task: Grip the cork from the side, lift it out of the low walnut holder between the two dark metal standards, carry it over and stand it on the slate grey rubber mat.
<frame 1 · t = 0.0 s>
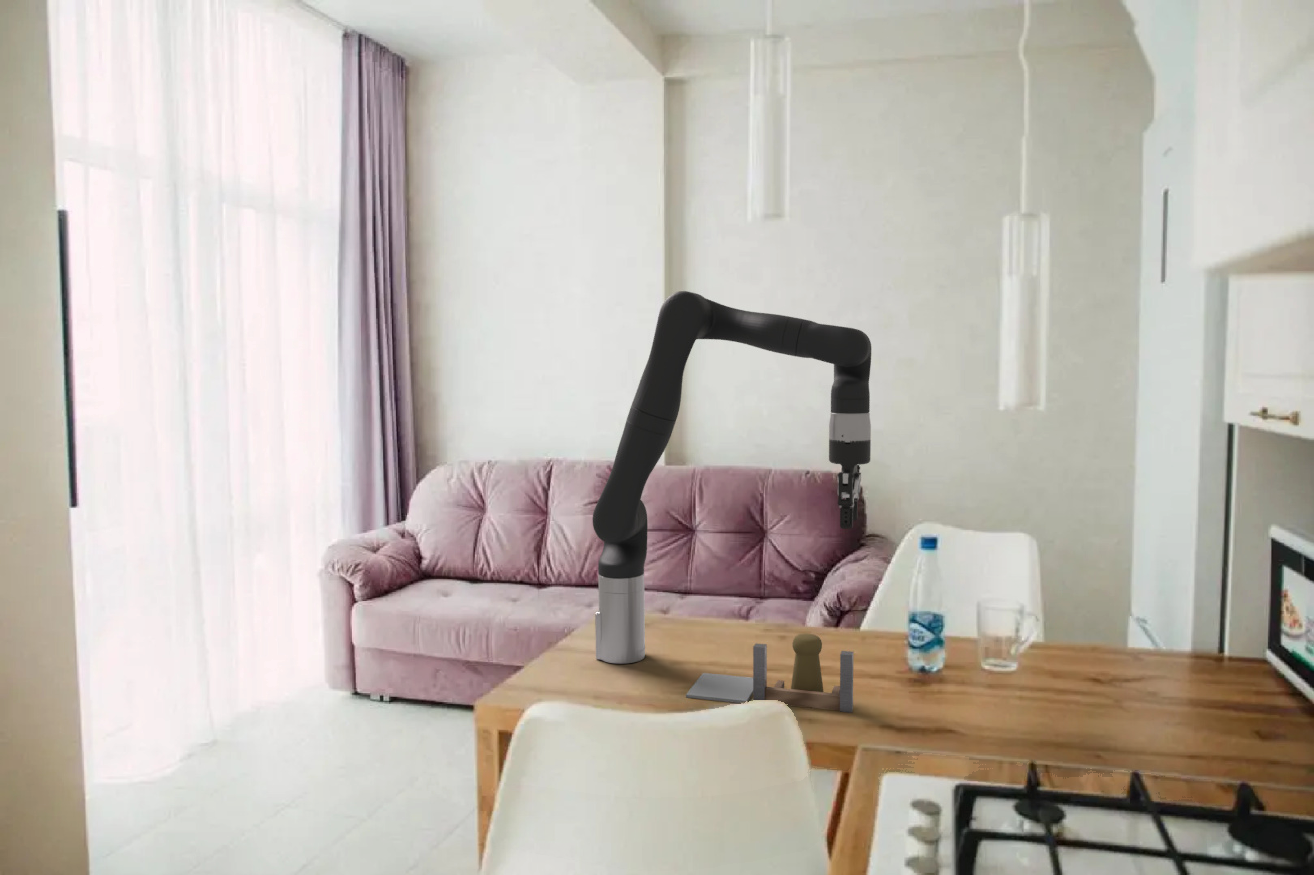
hand: (848, 524, 172), 29 cm above the table, tool pointing down, fingers open, 8 cm apart
grey rubber mat: (723, 688, 170), on the table
cork: (806, 696, 166), resting in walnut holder
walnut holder: (806, 695, 166), on the table
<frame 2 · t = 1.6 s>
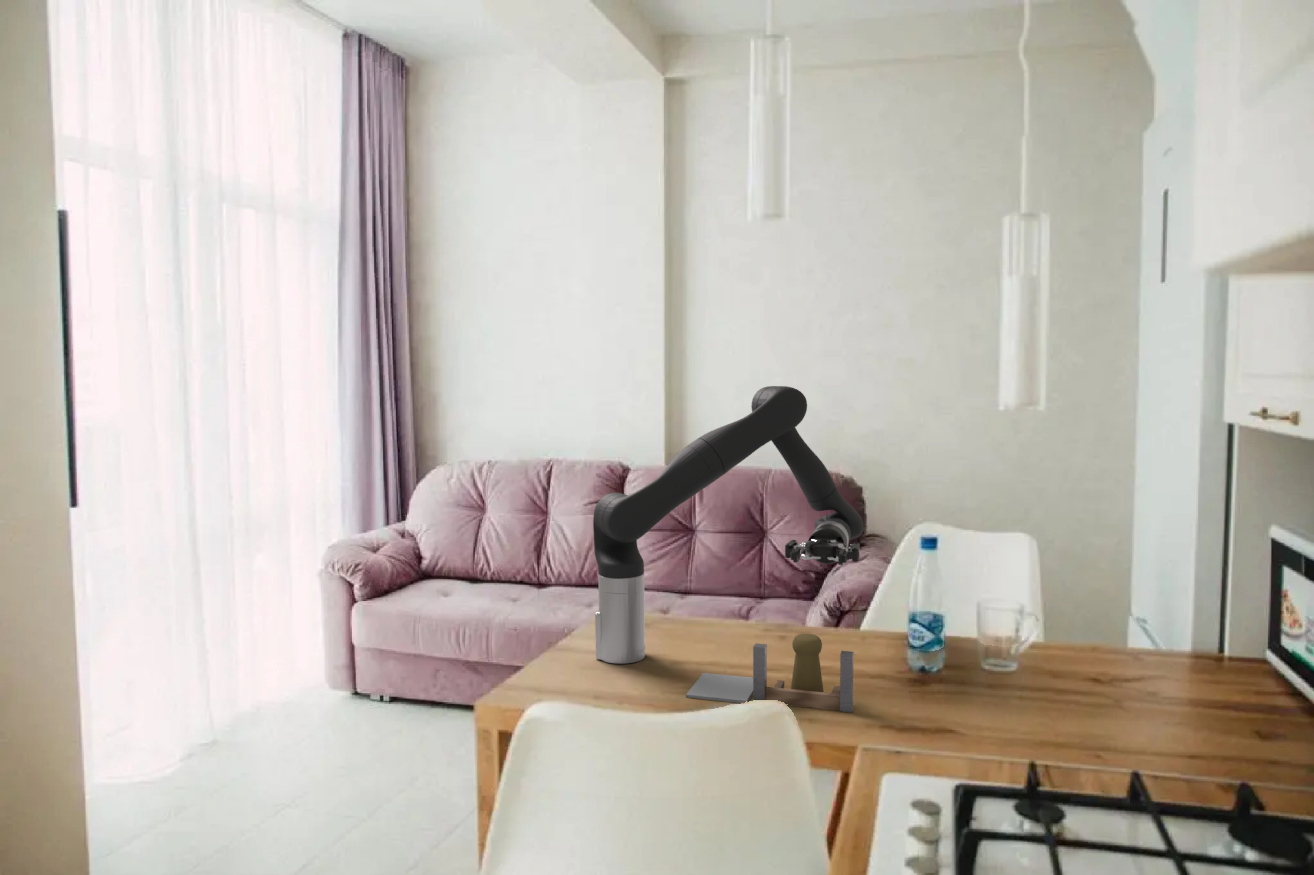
hand: (817, 558, 177), 22 cm above the table, tool horizontal, fingers open, 8 cm apart
nothing on the table moved.
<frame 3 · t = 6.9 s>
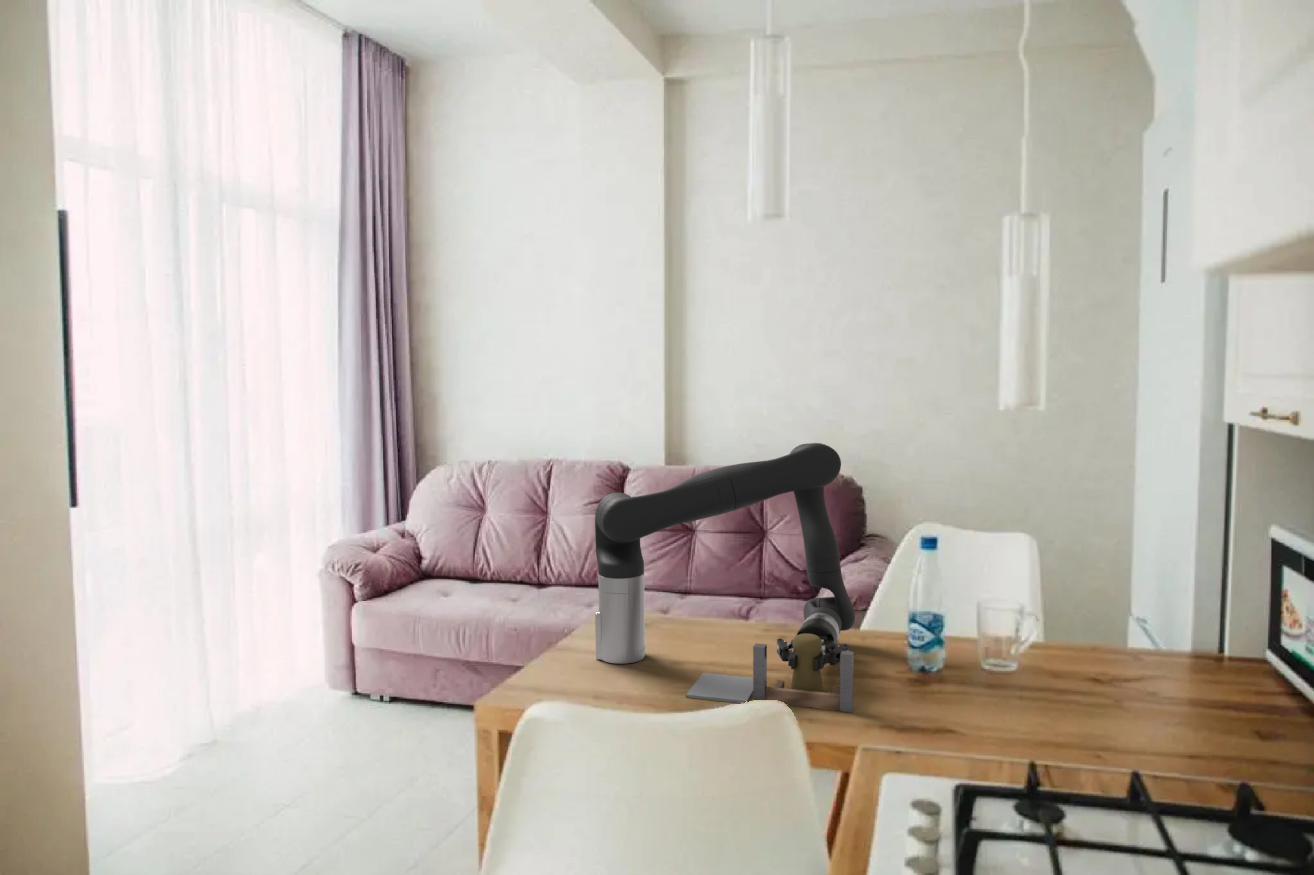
hand: (804, 664, 163), 7 cm above the table, tool horizontal, fingers closed on cork, 3 cm apart
cork: (807, 696, 166), resting in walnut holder, touching gripper
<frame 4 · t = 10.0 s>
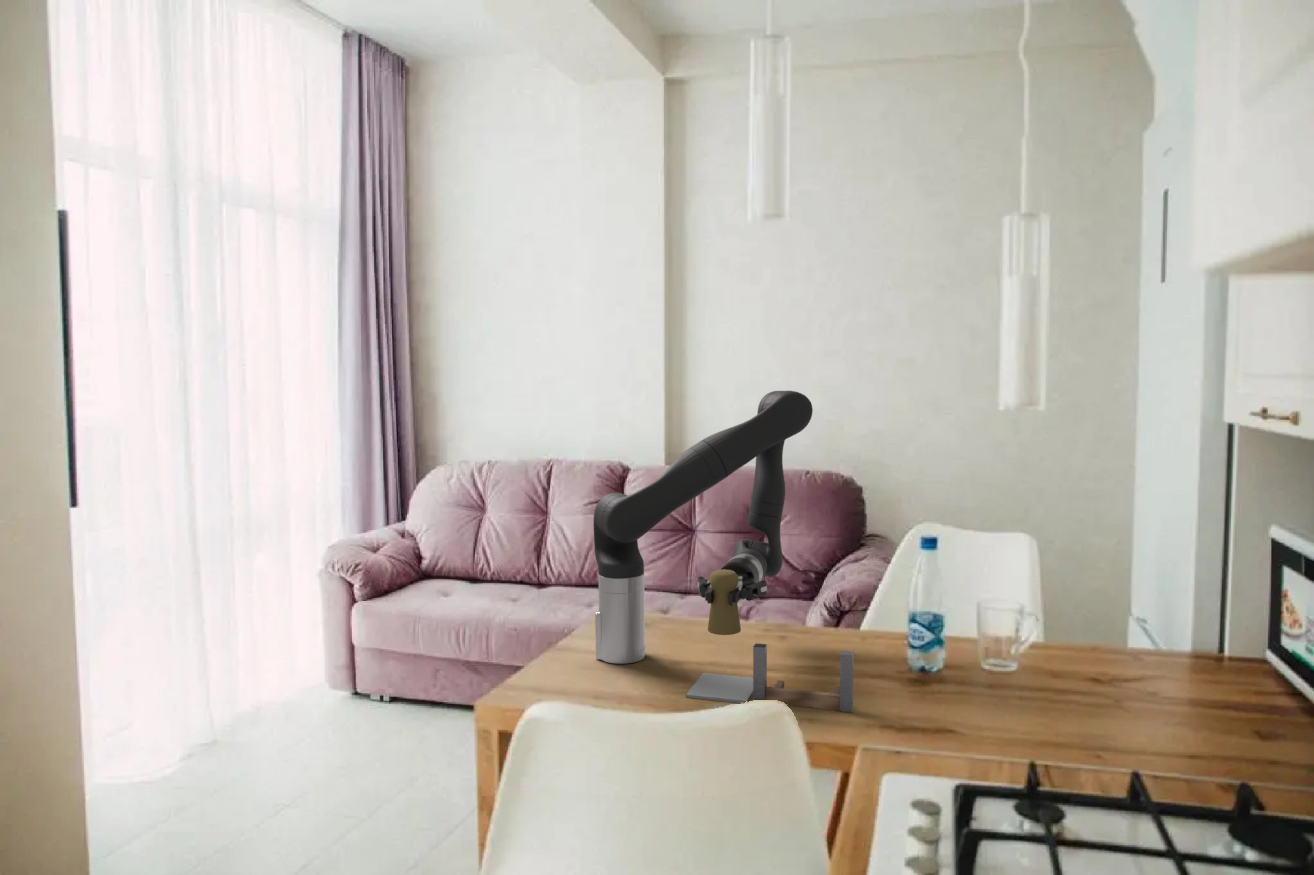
hand: (720, 598, 166), 18 cm above the table, tool horizontal, fingers closed on cork, 3 cm apart
cork: (724, 631, 169), point 11 cm above the table, touching gripper
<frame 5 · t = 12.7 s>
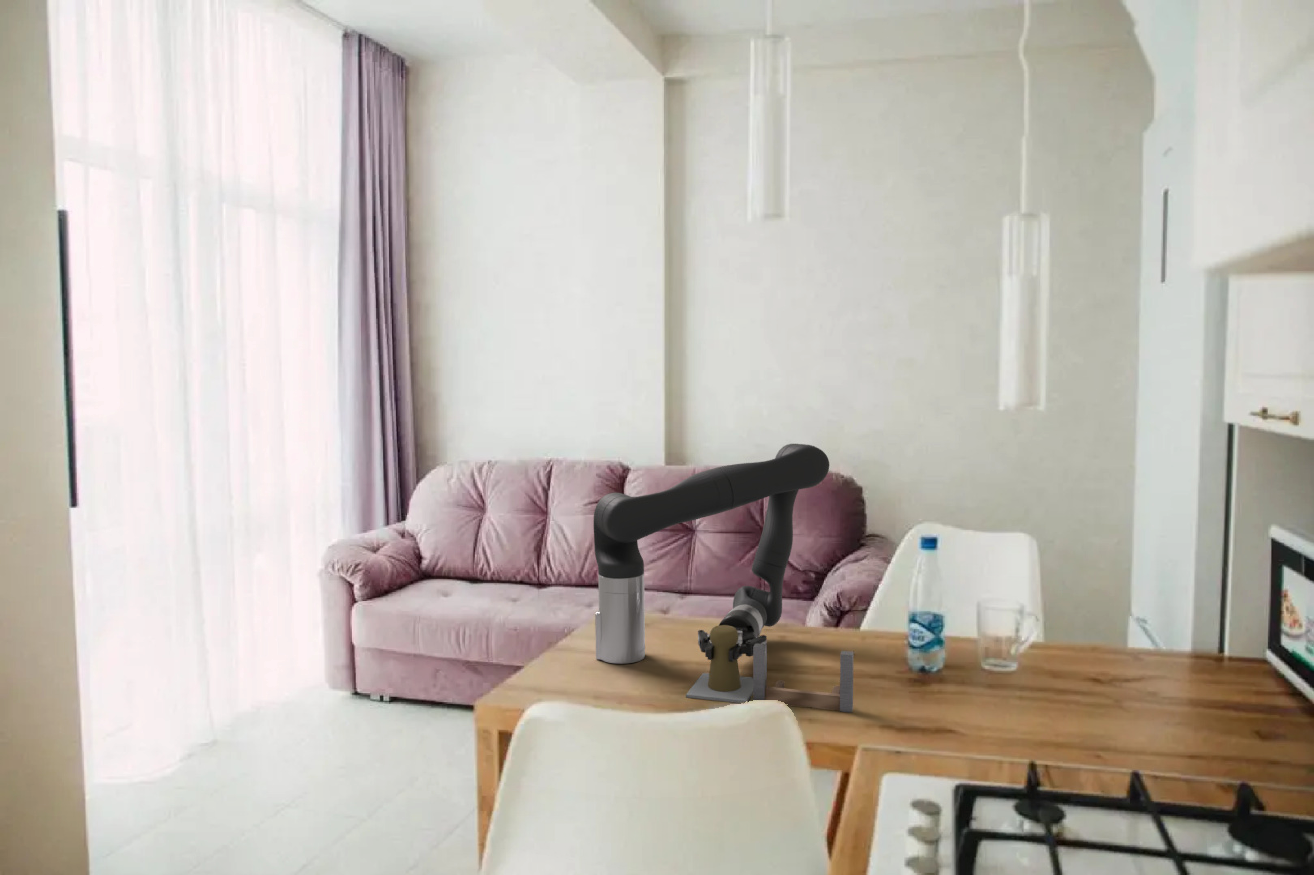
hand: (720, 655, 167), 7 cm above the table, tool horizontal, fingers closed on cork, 3 cm apart
cork: (724, 686, 170), resting on grey rubber mat, touching gripper
when the fingers open (7 cm above the table, at t = 13.6 s): cork moves 2 cm, resting on grey rubber mat.
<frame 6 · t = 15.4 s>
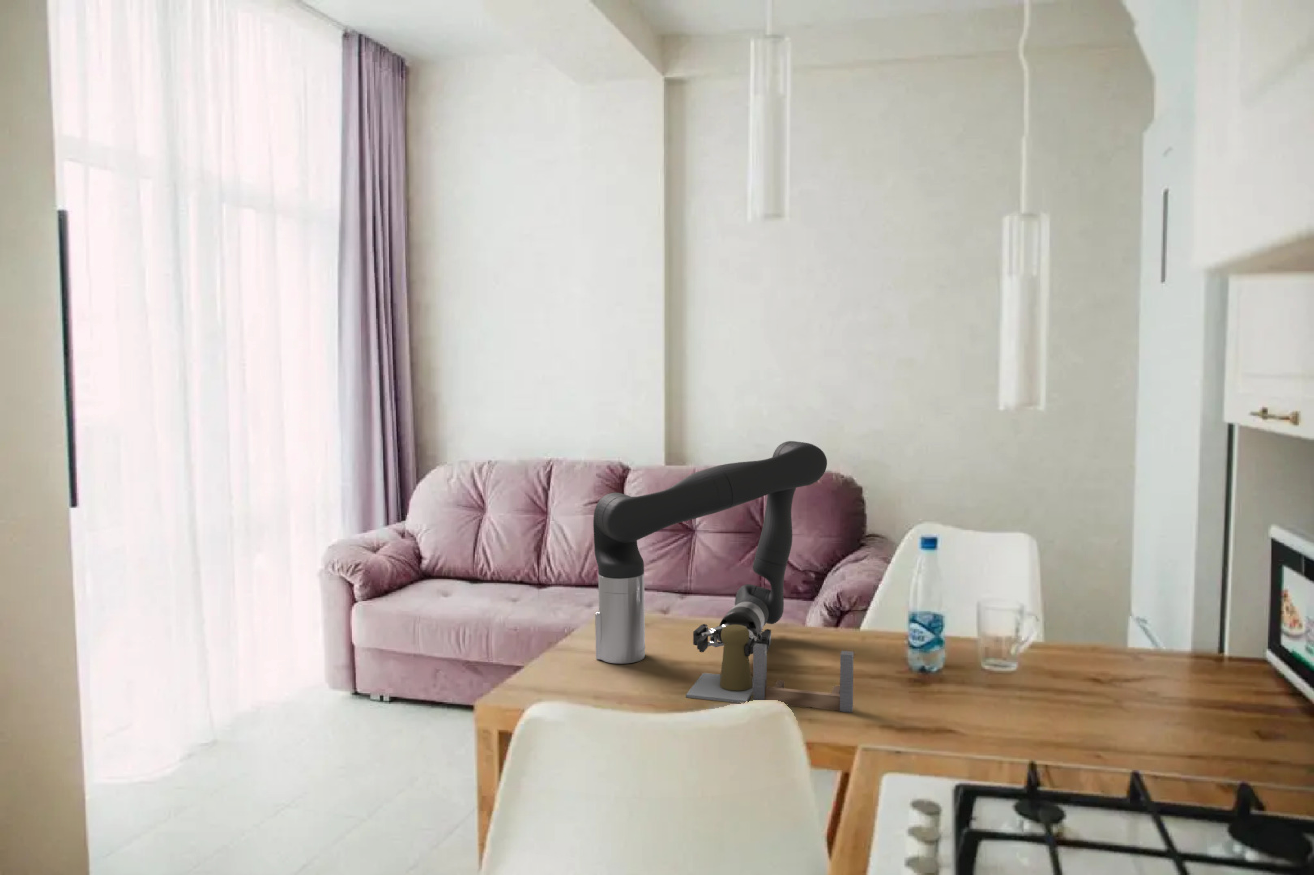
hand: (723, 649, 169), 8 cm above the table, tool horizontal, fingers open, 8 cm apart
cork: (736, 686, 170), resting on grey rubber mat, touching gripper
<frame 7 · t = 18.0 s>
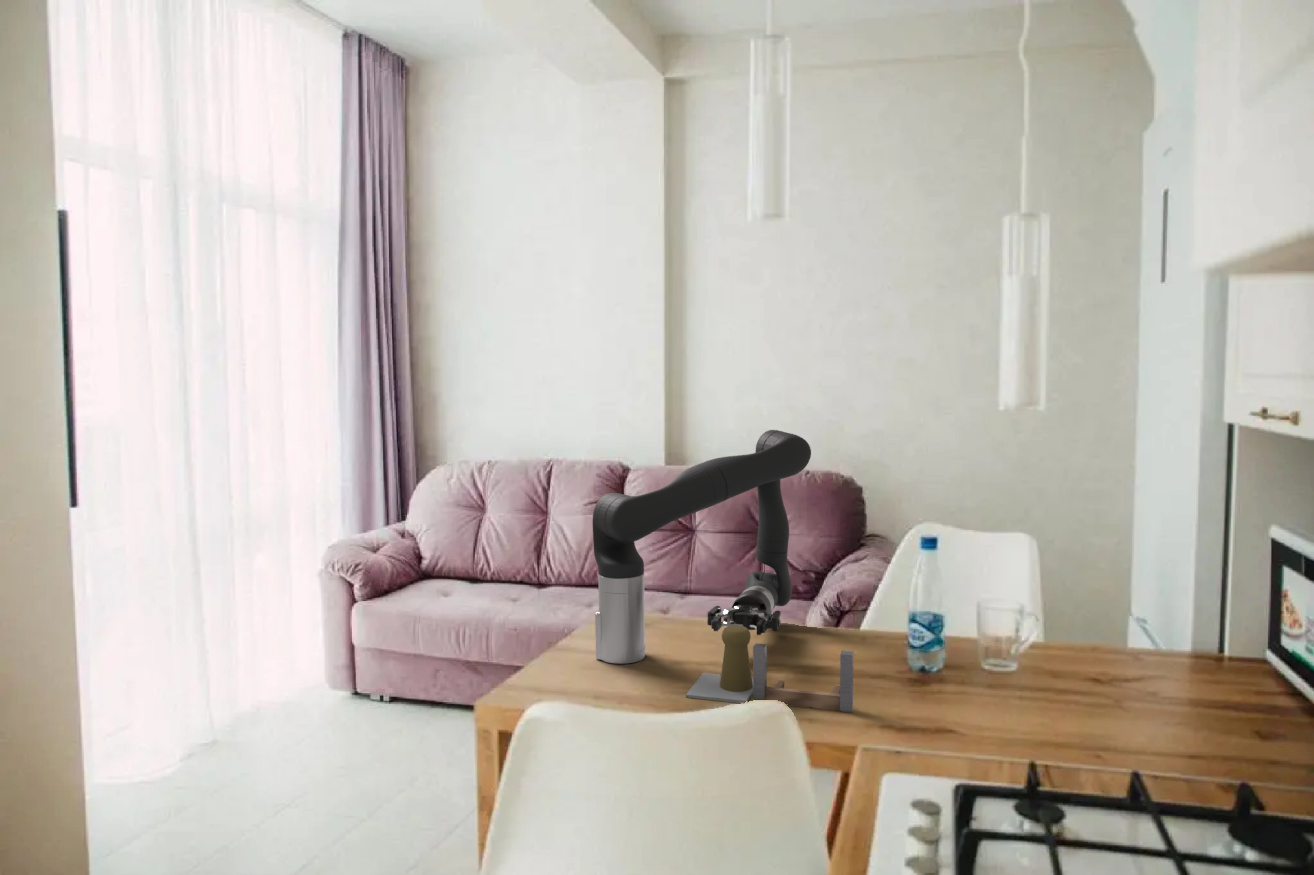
hand: (736, 628, 180), 8 cm above the table, tool horizontal, fingers open, 8 cm apart
cork: (736, 686, 170), resting on grey rubber mat
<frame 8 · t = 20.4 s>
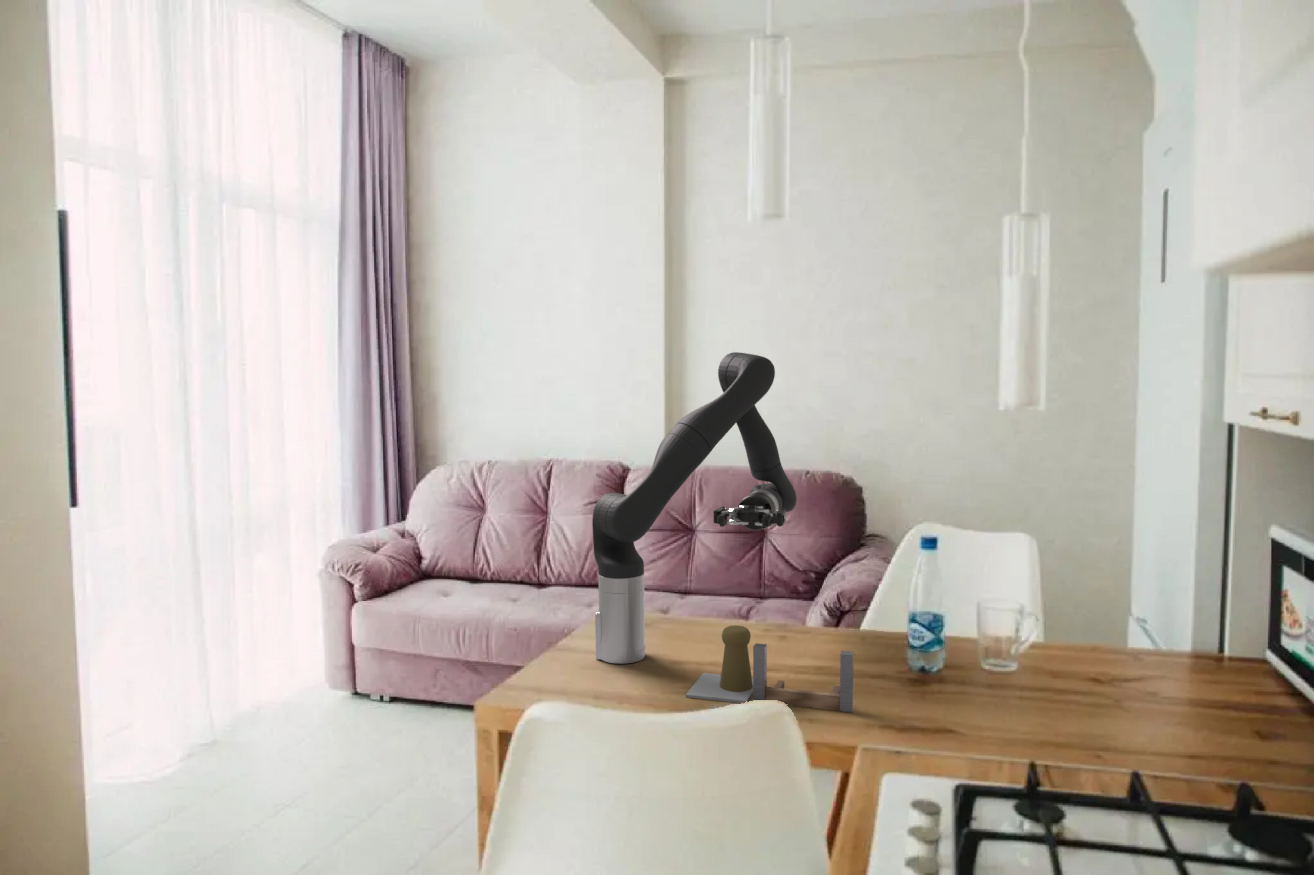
hand: (742, 522, 183), 28 cm above the table, tool horizontal, fingers open, 8 cm apart
nothing on the table moved.
at the end: cork inside the target area (2.2 cm from its centre), resting on grey rubber mat; cork tilted 0°; the gripper is holding nothing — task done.
